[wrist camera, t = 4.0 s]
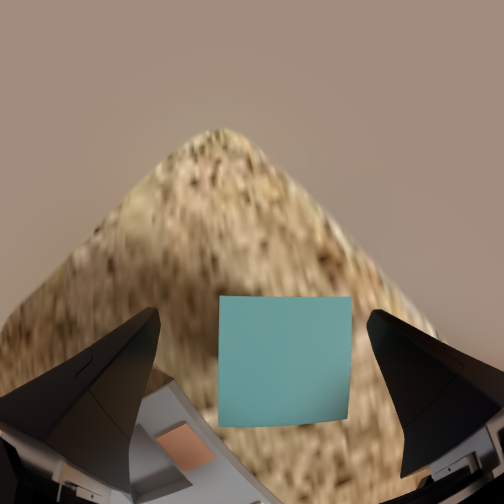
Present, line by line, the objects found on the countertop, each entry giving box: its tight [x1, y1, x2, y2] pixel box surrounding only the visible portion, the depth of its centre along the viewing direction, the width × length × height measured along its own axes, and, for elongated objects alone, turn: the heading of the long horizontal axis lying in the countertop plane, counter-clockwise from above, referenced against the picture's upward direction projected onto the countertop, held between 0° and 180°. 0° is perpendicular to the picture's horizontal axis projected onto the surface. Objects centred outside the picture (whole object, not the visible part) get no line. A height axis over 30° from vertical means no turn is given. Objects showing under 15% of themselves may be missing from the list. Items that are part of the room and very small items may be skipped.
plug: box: [218, 296, 352, 427], centre depth 12 cm, size 4×4×11 cm
